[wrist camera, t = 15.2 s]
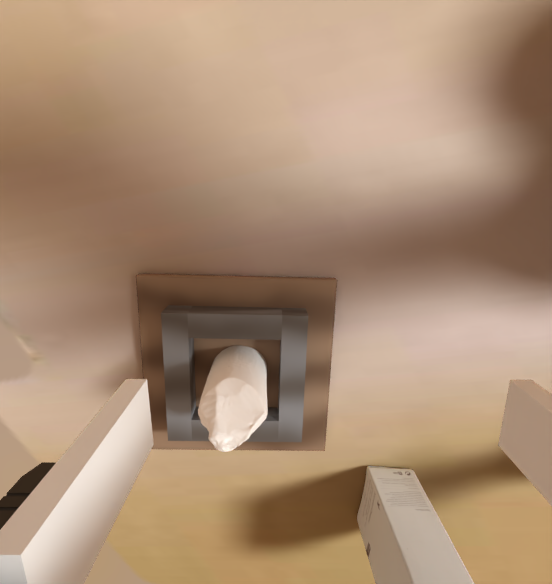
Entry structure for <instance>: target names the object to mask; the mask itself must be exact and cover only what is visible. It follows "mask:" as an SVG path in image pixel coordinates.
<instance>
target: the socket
mask: <svg viewBox="0 0 552 584" xmlns="http://www.w3.org/2000/svg"><path fill="white" fill-rule="evenodd" d="M136 282H137V296H138V310H139V324H140V338H141V352H142V366H143V379H147V384H148V394H149V404H150V413H151V423H152V433H153V443H154V445H153V447H152V449H188V450H217V449H216V448H215V447H214V445H213V444H212V443H211V442H210V440H209V439H208V437H209V431H208V430H207V428H206V427H205V426H203V425H202V424H201V420H200V417H199V415H198V408H199V404H200V399H201V396H202V393H203V390H204V387H205V384H206V381H207V377H208V375H209V372H210V369H211V367H212V364H213V361H214V359H215V358H216V356H217V355H218V354H219V353H220V352H221V351H223V350H224V349H226V348H228V347H231V346H237V345H238V346H240V345H241V346H247V347H251V348H253V349H255V350H257V351H258V352H260V353H261V354H262V356H263V357H264V359H265V361H266V365H267V407H268V412H267V417H266V419H265V420H264V421H263V423H262V424H261V425H260V426H259V427H258V428H257V429H256V430H255V431H254V432H253V433H252V434H251V435H250V437H249V439H247V440H246V441H245V442H243V443H242V444H241V445H240V446H237V447H236V448H235V449H233V450H291V451H325V441H326V427H327V413H328V399H329V385H330V371H331V357H332V343H333V329H334V315H335V301H336V287H337V280H336V279H335V278H307V277H263V276H218V275H174V274H138V275H136Z"/></svg>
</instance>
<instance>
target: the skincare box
mask: <svg viewBox="0 0 552 584" xmlns="http://www.w3.org/2000/svg"><path fill="white" fill-rule="evenodd" d="M357 521H358V525H359V528H360V532H361V535H362V538H363V542H364V545H365V549H366V552H367V555H368V559H369V562H370V566H371V569H372V572H373V576H374V579H375V583H376V584H474V582H473V580H472V578H471V577H470V575H469V573H468V571H467V569H466V567H465V565H464V564H463V562H462V560H461V558H460V556H459V554H458V552H457V551H456V549H455V547H454V545H453V543H452V541H451V539H450V538H449V536H448V534H447V532H446V530H445V528H444V526H443V525H442V523H441V521H440V519H439V517H438V515H437V513H436V512H435V510H434V508H433V506H432V504H431V502H430V500H429V499H428V497H427V495H426V493H425V491H424V489H423V487H422V486H421V484H420V482H419V480H418V478H417V476H416V474H415V473H414V471H413V470H412V469H399V468H388V467H377V466H368V467H367V471H366V480H365V485H364V491H363V495H362V500H361V504H360V508H359V511H358V515H357Z"/></svg>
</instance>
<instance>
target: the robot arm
mask: <svg viewBox="0 0 552 584" xmlns="http://www.w3.org/2000/svg"><path fill="white" fill-rule="evenodd" d="M153 445H154V443H153V433H152V423H151V413H150V404H149V394H148V384H147V379H125V381H124V382H123V383H122V384H121V385H120V387H119V388H118V389H117V390H116V391H115V393H114V394H113V395H112V396H111V397H110V399H109V400H108V401H107V402H106V403H105V405H104V406H103V407H102V408H101V409H100V411H99V412H98V413H97V414H96V415H95V417H94V418H93V419H92V420H91V421H90V423H89V424H88V425H87V426H86V427H85V429H84V430H83V431H82V432H81V433H80V435H79V436H78V437H77V438H76V439H75V441H74V442H73V443H72V444H71V445H70V447H69V448H68V449H67V450H66V451H65V453H64V454H63V455H62V456H61V458H60V459H59V460H58V461H57V462H56V463H41V464H39V465H38V466H36V467H35V468H34V469H32V470H31V471H29V472H28V473H27V474H25V475H24V476H22V477H21V478H20V479H19V480H18V482H17V483H16V484H15V485H14V486H13V487H12V488H11V489H10V490H9V491H8V492H7V495H6V496H4V497H3V498H2V499H1V500H0V584H84V582H85V580H86V578H87V576H88V574H89V572H90V570H91V568H92V566H93V564H94V562H95V560H96V558H97V556H98V554H99V552H100V550H101V548H102V546H103V544H104V542H105V540H106V538H107V536H108V534H109V532H110V530H111V528H112V526H113V524H114V522H115V520H116V518H117V516H118V514H119V512H120V510H121V508H122V506H123V504H124V502H125V500H126V498H127V496H128V494H129V492H130V490H131V488H132V486H133V484H134V482H135V480H136V478H137V476H138V474H139V472H140V470H141V468H142V466H143V464H144V462H145V460H146V458H147V457H148V455H149V453H150V451H151V449H152V447H153ZM498 446H499V447H500V448H501V449H502V450H503V451H504V453H505V454H506V455H507V456H508V457H509V458H510V459H511V460H512V462H513V463H514V464H515V465H516V466H517V467H518V468H519V470H520V471H521V472H522V473H523V474H524V475H525V476H526V477H527V479H528V480H529V481H530V482H531V483H532V484H533V485H534V486H535V488H536V489H537V490H538V491H539V492H540V493H541V494H542V495H543V497H544V498H545V499H546V500H547V501H548V502H549V503H550V505H551V506H552V394H550V393H549V392H548V391H546V390H545V389H543V388H542V387H541V386H539V385H538V384H536V383H535V382H534V381H532V380H510V383H509V389H508V394H507V400H506V405H505V411H504V416H503V421H502V427H501V432H500V438H499V443H498Z"/></svg>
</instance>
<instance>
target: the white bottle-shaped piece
mask: <svg viewBox="0 0 552 584" xmlns="http://www.w3.org/2000/svg"><path fill="white" fill-rule="evenodd" d="M267 412H268V407H267V365H266V361H265V359H264V357H263V356H262V354H261V353H260V352H258V351H257V350H255V349H253V348H251V347H247V346H241V345H240V346H238V345H237V346H231V347H228V348H226V349H224V350H223V351H221V352H220V353H219V354H218V355H217V356H216V358H215V359H214V361H213V364H212V367H211V369H210V372H209V375H208V377H207V381H206V384H205V387H204V390H203V393H202V396H201V399H200V404H199V408H198V415H199V417H200V420H201V424H202V425H203V426H205V427H206V428H207V430H208V431H209V437H208V439H209V440H210V442H211V443H212V444H213V445H214V447H215V448H216V449H217V450H220V451H222V452H227V451H231V450H233V449H235V448H236V447H237V446H240V445H241V444H242V443H243V442H245V441H246V440H247V439H249V437H250V435H251V434H252V433H253V432H254V431H255V430H256V429H257V428H258V427H259V426H260V425H261V424H262V423H263V421H264V420H265V419H266V417H267Z"/></svg>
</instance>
